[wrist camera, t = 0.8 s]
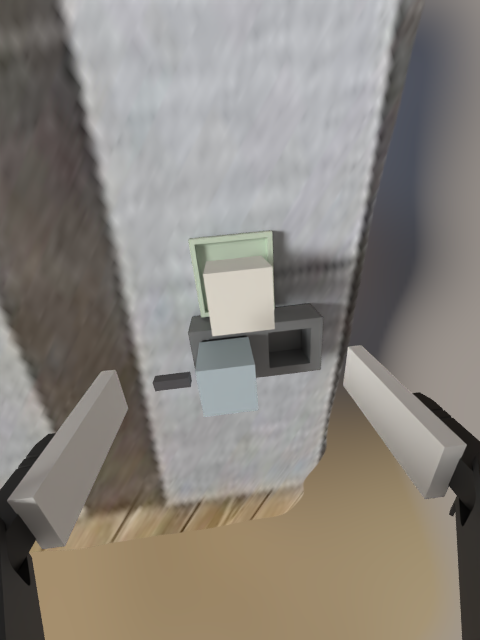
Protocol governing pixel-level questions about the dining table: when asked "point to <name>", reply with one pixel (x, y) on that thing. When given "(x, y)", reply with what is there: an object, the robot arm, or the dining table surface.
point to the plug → (239, 295)
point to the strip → (275, 342)
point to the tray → (226, 255)
